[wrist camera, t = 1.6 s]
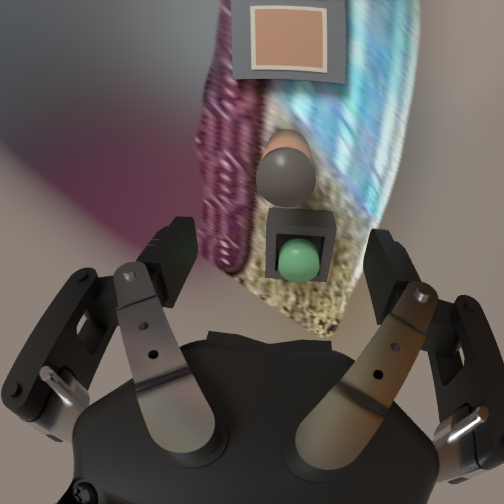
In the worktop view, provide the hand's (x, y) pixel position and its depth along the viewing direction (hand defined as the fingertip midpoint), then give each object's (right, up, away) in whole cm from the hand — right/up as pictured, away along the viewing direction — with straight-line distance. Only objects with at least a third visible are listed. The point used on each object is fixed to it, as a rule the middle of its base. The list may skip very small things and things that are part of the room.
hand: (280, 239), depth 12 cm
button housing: (+4, +1, +19) cm, 19 cm away
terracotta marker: (+2, +9, +13) cm, 16 cm away
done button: (+3, -1, +16) cm, 16 cm away
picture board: (+2, +22, +4) cm, 22 cm away
